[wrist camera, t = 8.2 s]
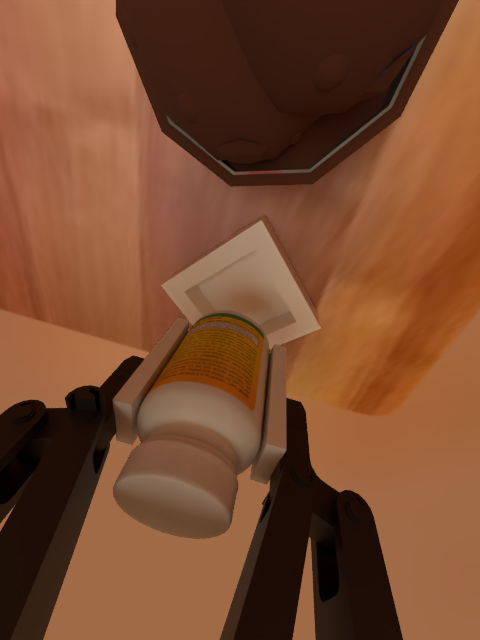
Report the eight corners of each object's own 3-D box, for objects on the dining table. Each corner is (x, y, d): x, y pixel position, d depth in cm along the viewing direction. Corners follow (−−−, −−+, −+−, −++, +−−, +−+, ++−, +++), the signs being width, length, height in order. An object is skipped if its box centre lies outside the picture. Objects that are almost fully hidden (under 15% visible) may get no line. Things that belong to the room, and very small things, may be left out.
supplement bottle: (279, 367, 16) (274, 554, 8) (208, 378, 18) (145, 545, 10) (255, 297, 14) (214, 458, 6) (176, 317, 16) (58, 467, 7)
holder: (174, 273, 23) (160, 285, 21) (264, 214, 19) (261, 219, 17) (231, 348, 27) (225, 367, 24) (316, 311, 23) (321, 328, 20)
